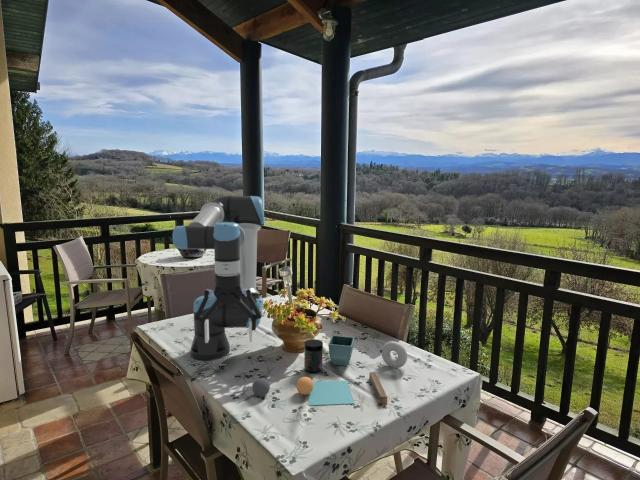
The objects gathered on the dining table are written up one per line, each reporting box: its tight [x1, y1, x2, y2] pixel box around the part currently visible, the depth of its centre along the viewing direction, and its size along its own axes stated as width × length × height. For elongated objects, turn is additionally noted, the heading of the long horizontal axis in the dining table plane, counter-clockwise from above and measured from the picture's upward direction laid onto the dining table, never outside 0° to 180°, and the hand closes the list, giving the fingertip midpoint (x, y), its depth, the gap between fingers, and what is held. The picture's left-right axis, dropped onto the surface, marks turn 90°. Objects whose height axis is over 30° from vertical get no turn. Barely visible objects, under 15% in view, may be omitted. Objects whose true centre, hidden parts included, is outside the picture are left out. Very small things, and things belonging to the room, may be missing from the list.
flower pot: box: [328, 334, 355, 367], centre depth 147 cm, size 9×9×9 cm
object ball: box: [296, 376, 314, 396], centre depth 126 cm, size 6×6×6 cm
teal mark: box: [307, 380, 356, 407], centre depth 127 cm, size 14×14×1 cm
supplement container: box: [303, 339, 324, 375], centre depth 141 cm, size 7×7×10 cm
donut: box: [381, 340, 408, 369], centre depth 144 cm, size 10×4×10 cm, turn 55°
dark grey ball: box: [251, 377, 271, 398], centre depth 124 cm, size 6×6×6 cm
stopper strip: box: [369, 371, 388, 405], centre depth 128 cm, size 2×16×2 cm, turn 5°
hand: (229, 340), depth 121 cm, fingers open, 13 cm apart
